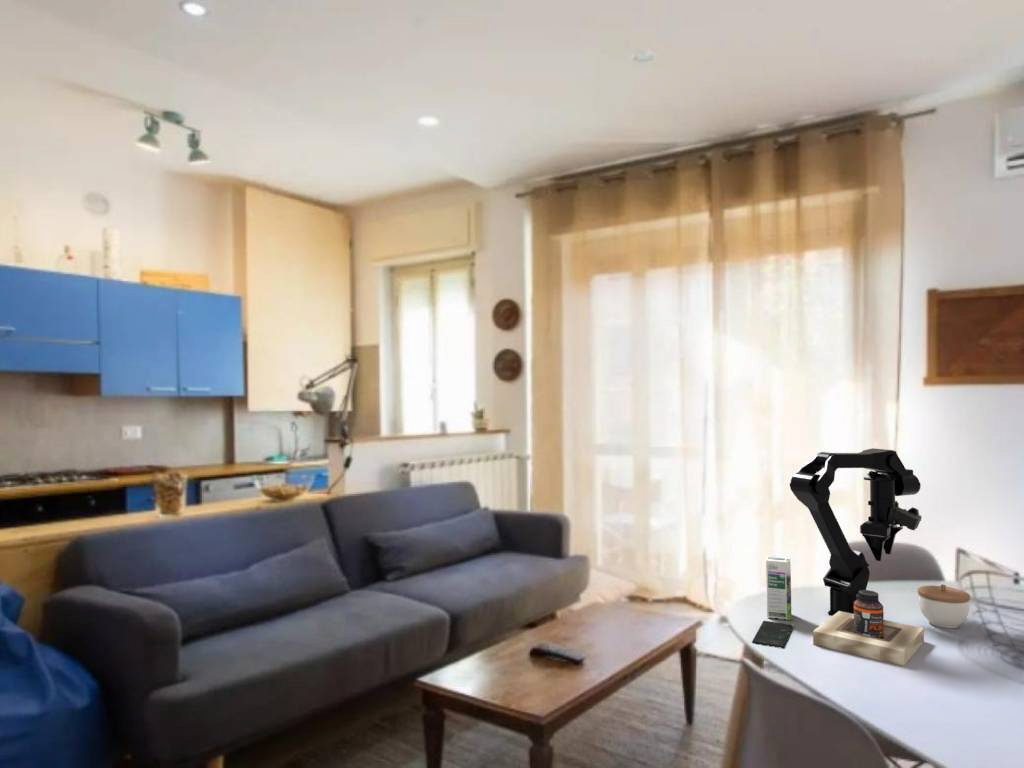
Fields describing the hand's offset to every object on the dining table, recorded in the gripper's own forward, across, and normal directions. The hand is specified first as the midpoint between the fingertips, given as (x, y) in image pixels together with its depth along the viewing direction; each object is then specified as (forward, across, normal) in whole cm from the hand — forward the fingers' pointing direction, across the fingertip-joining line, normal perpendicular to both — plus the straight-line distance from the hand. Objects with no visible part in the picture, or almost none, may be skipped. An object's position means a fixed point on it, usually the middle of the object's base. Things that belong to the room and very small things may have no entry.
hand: (883, 557), depth 177 cm
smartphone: (+14, -38, +14) cm, 43 cm away
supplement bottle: (+13, -29, -4) cm, 32 cm away
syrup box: (+13, -24, +18) cm, 33 cm away
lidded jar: (+13, -4, -14) cm, 20 cm away
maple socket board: (+13, -29, -4) cm, 32 cm away
